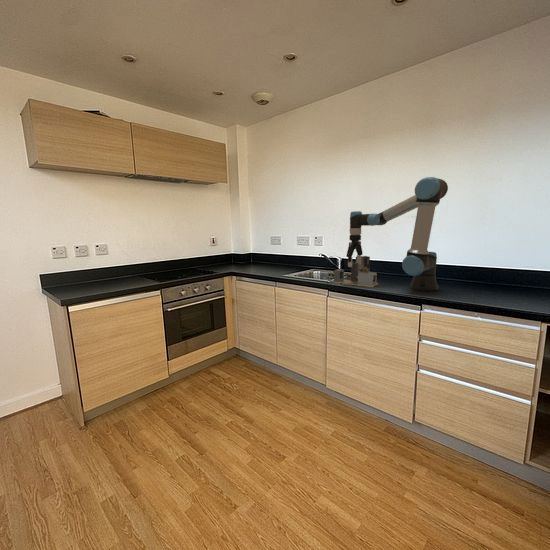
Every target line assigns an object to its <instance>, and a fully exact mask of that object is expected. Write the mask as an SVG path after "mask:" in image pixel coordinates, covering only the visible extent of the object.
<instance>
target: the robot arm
mask: <svg viewBox="0 0 550 550" xmlns="http://www.w3.org/2000/svg"><path fill="white" fill-rule="evenodd" d="M448 190H449V186H448V183H447V182H446V181H445V180H444V179H443V178H437V177H434V176H426V177H423V178H421V179H420V180H419V181H418V182H417V183H416V184H415V187H414V194H413V195H412V196H411V197H409V198H407V199H405V200H403V201H400V202H398V203H396V204H395V205H392V206H390V207H389V208H387V209H385V210H383V211H381V212H378V213H363V212H362V211H361V210H358V211H357V210H356V211H351V212H350V215H349V217H350V218H349V230H348V231H349V243H348V248H347V251H346V258H347V267H348V268H351V267H352V263H353V255H354V252H356V253H357V254H356V257H357V263H358V264H359V265H361V256H363V249H362V248H363V247H362V241H361V240H362V227H364V226H368V227H369V226H371V227H373V226H383V225H384V226H385V225H386V224H387V223H388V222H390V221H392V220H394V219H396V218H398V217H400V216H403V215H405V214H407V213H409V212H411V211H413V210H416V209H417V212H416V216H415V217H416V218H415V222H414V226H413V227H414V228H413V234H412V240H411V245H410V248H409V249H408V250H407V251H406V256H405V257H404V258H403V259H402V262H401V267H402V269H403V271H404V273H406V274H408V275H409V276H413V278H412V281H411V283H410V289H412V290H415V291H423V292H424V291H425V292H434V291H435V292H436V291H438V290H439V285H438V280H437V278H436V277H437V276H436V274H437V260H438V256H437V253H436V252H434V251H429V250H428V247H429V242H430V238H431V237H430V236H431V234H432V232H431V231H432V226H433V222H434V217H435V216H434V215H435V213H436V212H435V211H436V207H437V206H438V205H440V201H441V199H443V198H444V197H445V196H446V195H447V193H448Z"/></svg>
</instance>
